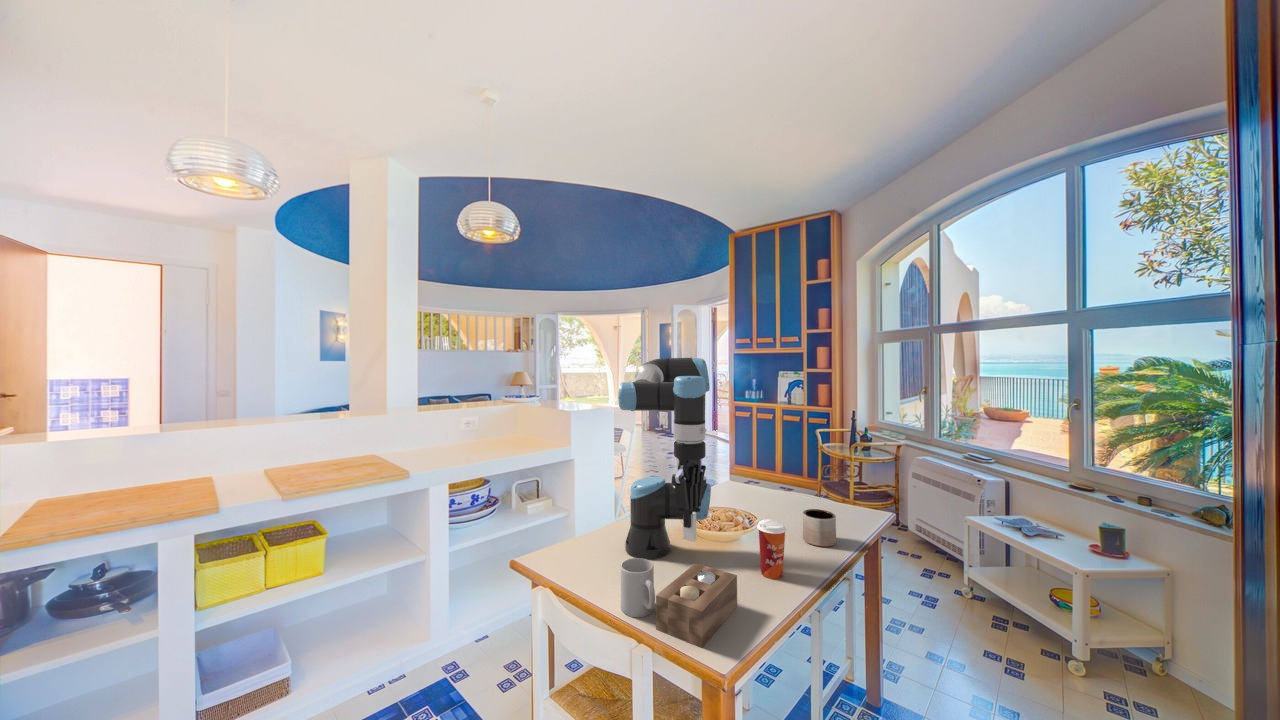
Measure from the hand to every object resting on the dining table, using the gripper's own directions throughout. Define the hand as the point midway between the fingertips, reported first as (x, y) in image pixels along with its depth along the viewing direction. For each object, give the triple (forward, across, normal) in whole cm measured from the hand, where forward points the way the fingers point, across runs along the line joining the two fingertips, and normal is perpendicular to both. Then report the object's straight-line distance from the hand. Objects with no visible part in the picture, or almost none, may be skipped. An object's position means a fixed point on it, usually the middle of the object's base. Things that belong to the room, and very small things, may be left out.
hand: (689, 539), depth 106 cm
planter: (+21, +69, -14) cm, 73 cm away
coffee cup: (+21, +36, -8) cm, 42 cm away
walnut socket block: (+21, +4, 0) cm, 21 cm away
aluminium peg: (+20, +8, 0) cm, 22 cm away
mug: (+21, -2, +13) cm, 25 cm away
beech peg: (+20, -1, 0) cm, 20 cm away
